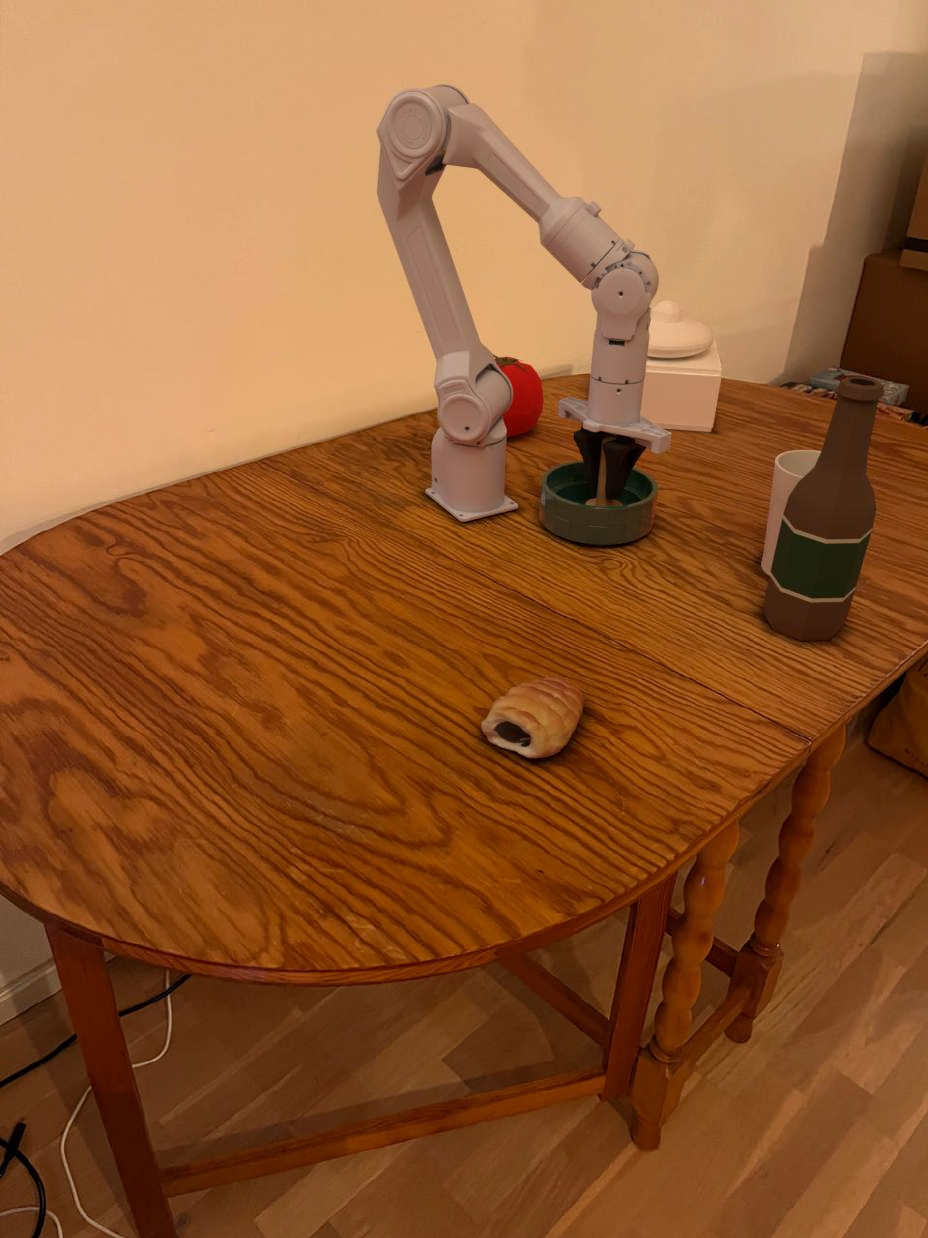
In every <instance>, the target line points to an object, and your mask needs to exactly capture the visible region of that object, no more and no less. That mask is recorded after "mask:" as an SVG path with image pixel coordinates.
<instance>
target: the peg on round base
mask: <svg viewBox="0 0 928 1238" xmlns="http://www.w3.org/2000/svg"><path fill="white" fill-rule="evenodd" d="M613 439H616V438H615V437H605V438H603V439H602V444H603V443H605V442H607V441H610V440H613ZM605 485H606V461H605V455H604V451H603V448H602V447H601V457H600V467H599V477H598V487H597V497H596V498H594V499H590V500H588V501H587V502H586V504H585V505H590V506H604V507H613V506H623V504H622V503H620V502H619V501H617V500H614V499H613V500H609V499H606V495H605Z"/></svg>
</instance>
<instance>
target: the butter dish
mask: <svg viewBox="0 0 928 1238" xmlns="http://www.w3.org/2000/svg"><path fill="white" fill-rule="evenodd" d="M650 317H651V322H650V326H649V335H650V337H649V346H648V354H647V362H646V371H645V378H644V386H643V395H642V403H641V411H640V415H642V416H643V417H645V418H646V419H648V420H649V421H651V422H653V423H654V424H656V425H657V426H659V427H660V428H662V429H664V430H680V431H691V432H692V431H693V432H705V433H711V432H712V429H713V428H714V424H715V417H716V411H717V406H718V400H719V393H720V389H721V383H722V373H723V369H722V364H721V359H720V355H719V351H718V346H717V341H716V336H715V335H714V333H713V331H712V330H711V328H709V327H708V326H706V325H705V324H704V323H702V322H700V321H698V320H695V319H693V318H690V317H686V316H684V311H683V309H682V308H681V306H680V305H679V304H678V303H676V302H674V301H672V300H662V301H660V302H658V303H657V304H656V305H655V306H654V307H652V308H651V313H650Z"/></svg>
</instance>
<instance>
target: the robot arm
mask: <svg viewBox="0 0 928 1238" xmlns="http://www.w3.org/2000/svg"><path fill="white" fill-rule="evenodd" d="M375 130H376V135H377V139H378V142H379V144H380V145H379V156H378V157H379V158H378V171H377V183H376V184H377V185H376V195H377V200H378V204H379V206H380V209H381V211H382V214H383V217H384V220H385V222H386V225H387V228H388V231H389V234H390V236H391V239H392V242H393V245H394V247H395V250H396V253H397V256H398V259H399V261H400V263H401V266H402V267H401V268H402V269H403V272H404V275H405V277H406V281H407V283H408V286H409V289H410V291H411V294H412V297H413V300H414V303H415V305H416V309H417V311H418V314H419V316H420V320H421V322H422V325H423V327H424V330H425V333H426V336H427V338H428V341H429V344H430V347H431V350H432V352H433V355H434V358H435V361H436V362H435V363H436V364H435V365H436V366H435V372H434V379H433V388H434V391H435V393H436V397H437V412H436V413H437V414H436V415H437V421H438V424H439V427H438V429H437V430H436V432H435V434H434V435H433V438H432V441H431V487H428V488H426V489H425V491H424V493H425V495H427V496H428V497H430V498H431V499H432V500H433V501H434V502H436V503H437V504H438V505H440V506H441V507H442V508H443V509H444V510H445V511H447V512H448V513H450V514H451V515H452V516H453V517H454V518H456V519H457V520H458V521H459V522H460V523H465V522H470V521H473V520H478V519H482V518H486V517H489V516H495V515H498V514H503V513H506V512H509V511H510V512H511V511H514V510H517V509H519V504H518V503H517V502H516V501H514V500H513V499H512V498H510V497H509V496H508V495H506V494H505V489H506V488H505V487H506V486H505V485H506V464H507V463H506V462H507V461H506V460H507V459H506V458H507V438H508V437H507V436H506V435H507V429H506V427H505V424H504V421H503V414H504V413H506V412H507V410H508V409H509V408H510V406H511V404H512V401H513V388H512V385H511V382H510V380H509V379H508V377H507V376H506V375H505V374H504V373H503V372H502V371H501V370H500V368H499V367H498V365H497V364H496V361H495V357H494V355H495V354H494V353H493V352H492V351H491V350H490V349H489V348H488V347H487V346H486V345H484V343H482V342H481V341H482V340H481V339H480V336H479V333H478V330H477V327H476V324H475V322H474V318H473V315H472V313H471V309H470V306H469V304H468V303H469V302H468V300H467V296H466V295H465V292H464V289H463V286H462V283H461V280H460V278H459V274H458V271H457V269H456V268H457V267H456V265H455V262H454V260H453V256H452V254H451V251H450V247H449V244H448V242H447V239H446V235H445V232H444V230H443V227H442V224H441V221H440V218H439V216H438V213H437V209H436V206H435V203H434V199H433V196H434V195H433V194H434V193H435V190H436V188H437V186H438V184H439V182H440V180H441V178H442V176H443V174H444V171H445V169H446V167H447V166H454V167H461V168H470V169H475V170H478V171H479V172H480V173H482V174H483V175H484V176H485V177H486V178H487V179H489V181H490V182H491V183H493V184H494V185H495V186H496V187H497V188H498V189H499V190H500V191H502V192H503V194H505V195H506V196H507V197H508V198H509V199H510V200H511V201H512V202H513V203H515V204H516V205H517V206H518V207H519V208H520V209H522V210H523V211H524V212H525V213H526V214H527V215H528V216H529V217H530V218H532V220H534V221H535V222H536V223H537V226H538V231H539V242H540V245H541V246H542V247H543V248H544V249H545V250H546V251H547V252H548V253H549V254H550V255H551V257H553V258H554V259H555V260H556V262H558V263H559V264H560V265H561V266H562V267H563V268H564V269H565V270H566V271H567V272H568V273H569V274H570V275H571V276H572V277H573V278H574V279H575V280H576V281H577V282H578V283H579V284H581V286H582V287H583V288H585V289H588V290H590V291H591V292H590V297H591V303H592V306H593V308H594V310H595V312H596V323H595V330H594V332H593V341H592V354H591V364H590V374H589V384H588V385H589V387H588V398H587V400H584V399H581V398H580V399H579V398H575V397H573V396H569V397H566V398H563V399H559V400H558V410H557V411H558V412H557V417H558V418H561V419H564V420H565V419H570V420H574V421H576V422H579V423H581V427H580V429H578V430H575V431H574V432H573V437H572V438H573V441H574V442H575V444H576V446H577V448H578V450H579V454H580V456H581V458H582V461H583V462H584V465H585V469H586V474H587V480H588V486H589V491H590V492H593V493H594V492H597V487H598V477H599V467H600V457H601V447H602V448H603V451H604V455H605V461H606V485H605V495H606V499H609V500H613V499H615V498H617V497H620V496H622V493H623V490H624V487H625V485H626V482H627V480H628V477H629V475H630V473H631V471H632V469H633V467H634V468H635V465H636V464H637V462H638V460H639V459H640V458H641V456H642V455H643V454H644V452H645V451H646V450H647V448H649V449H650V451H651V453H653V454H656V455H659V454H663V453H665V452H667V451H670V449H671V443H672V435H673V432H671V431H669V430H667V429H663V428H660V427H659V426H657V425H656V424H654V423H653V422H651V421H649V420H648V419H646V418H645V417H643V416H642V415H640V411H641V403H642V395H643V386H644V378H645V371H646V362H647V354H648V346H649V337H650V335H649V326H650V322H651V317H650V314H651V312H652V307H650V306H651V303H652V301H653V299H654V298H655V297H656V294H657V293H658V289H659V283H660V276H659V271H658V268H657V266H656V265H655V263H654V261H652V258H651V256H650V254H649V253H647V252H645V251H643V250H639V249H634V248H635V247H636V245H635V244H634V242H633V241H631V240H630V239H629V238H628V239H626V241H624V239H623V238H621V236H620V235H619V234H618V233H617V232H616V231H615V230H614V229H613V228H612V227H611V226H610V225H609V224H608V223H607V222H606V221H605V220H604V219H603V217H601V216H600V212H602V207H601V206H599V205H598V203H597V202H595V200H591V201H590V202H588V203H587V202H586V201H585V200H584V199H583V198H582V197H581V196H571V197H564V196H562V195H560V194H559V192H558V191H557V190H556V189H555V188H554V187H553V186H552V184H550V182H549V181H548V180H547V179H546V178H545V177H544V176H543V175H542V173H540V171H539V170H538V169H537V168H536V167H535V166H534V165H533V163H531V161H530V160H529V159H528V158H527V157H526V156H525V155H524V153H522V151H521V150H520V149H519V148H518V147H517V146H516V145H515V143H513V141H512V140H511V139H510V138H509V137H508V136H507V135H506V133H504V132H503V131H502V129H501V128H500V127H499V126H498V124H496V123H495V121H493V119H492V118H491V117H490V115H489V114H488V113H487V112H486V111H485V109H483V108H482V107H481V106H479V105H478V104H477V103H475V102H471V101H470V99H469V98H468V96H467V95H466V94H465V93H464V91H462V89H460V88H459V87H456V86H454V85H452V84H449V83H441V84H436V85H433V86H431V87H425V88H424V87H423V88H419V87H409V88H404V89H402V90H400V91H399V92H397V93H396V94H395V95H394V96H393V97H392V98H391V99H390V101H389V103H388V104H387V107H386V109H385V110H384V112H383V115H382V117H381V119H380V121H379V123H378V125H377V127H376V129H375ZM493 354H494V355H493ZM605 437H615V438H616V439H613V440H610V441H607V442H605V443H603V444H602V439H603V438H605Z"/></svg>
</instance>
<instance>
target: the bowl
mask: <svg viewBox="0 0 928 1238" xmlns="http://www.w3.org/2000/svg"><path fill="white" fill-rule="evenodd" d="M540 479H541V480H540V493H539V508H538V509H539V510H538V519H539V521H540V522H541V524H542V526H543V527H544V528H545V529H546V530H548V531H550V532H551V533H552V534H554V535H556V536H557V537H560V538H563V539H565V540H568V541H571V542H574V543H578V544H584V545H588V546H589V545H590V546H614V545H616V546H617V545H621V544H626V543H629V542H634V541H637V540H639V539H641V538H643V537H644V536H646V535H647V534H649V533H650V531H651V530H652V528H653V527H654V525H655V517H656V510H657V504H658V503H657V502H658V495H659V487H658V482H657V481H656V480H655V479H654V478H653V477H652V476H651V475H650V474H649V473H647V472H645V471H644V470H641V469H639V468H637V467H635V466H634V467H633V469H632V471H631V473H630V475H629V477H628V480H627V482H626V485H625V487H624V490H623V493H622V496H620V497H617V498H615V499H614V500H617V501H619V502H620V503H622V504H623V506H613V507H604V506H590V505H585V504H586V502H587V501H588V500H590V499H594V498H596V497H597V492H594V493H593V492H590V491H589V486H588V480H587V474H586V469H585V465H584V462H583V460H573V461H568V462H564V463H560V464H557V465H555V466H553V467H551V468H549V469H547V470H546V471H545V472H544V473H543V474H542V475H541V478H540Z"/></svg>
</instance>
